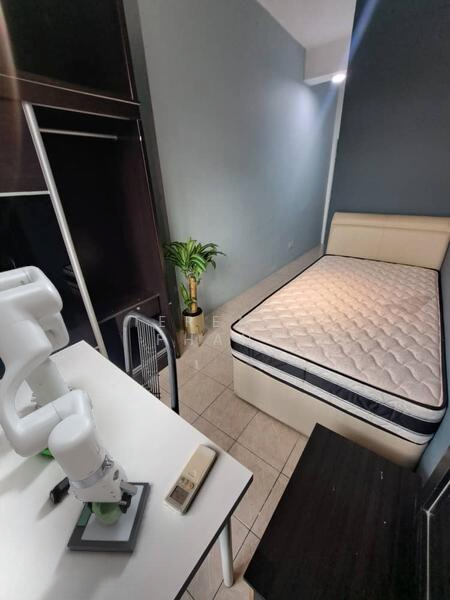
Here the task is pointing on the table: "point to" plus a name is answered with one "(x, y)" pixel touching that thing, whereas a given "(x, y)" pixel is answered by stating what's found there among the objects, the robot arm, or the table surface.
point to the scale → (111, 527)
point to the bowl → (107, 511)
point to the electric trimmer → (59, 490)
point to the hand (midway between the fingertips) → (111, 505)
